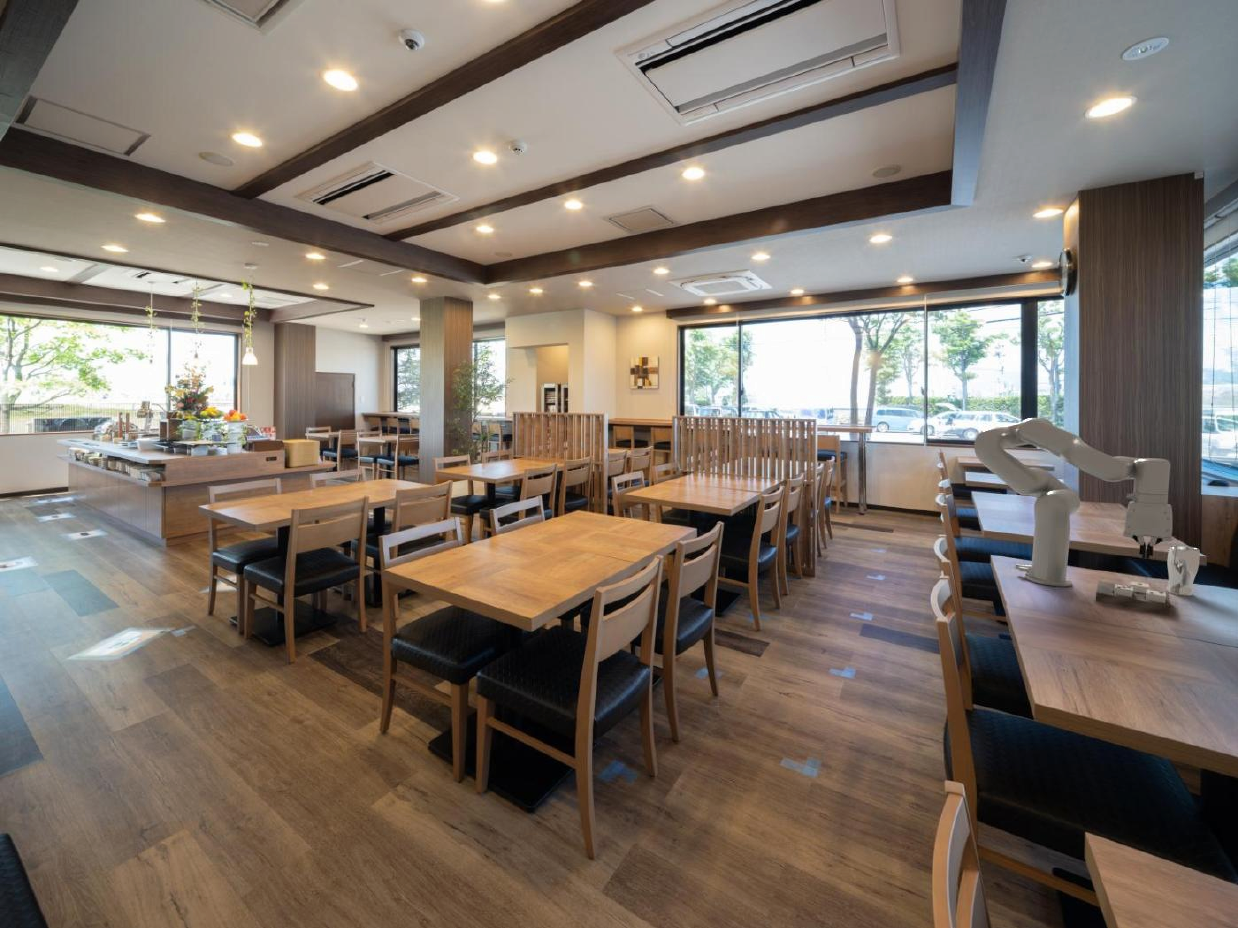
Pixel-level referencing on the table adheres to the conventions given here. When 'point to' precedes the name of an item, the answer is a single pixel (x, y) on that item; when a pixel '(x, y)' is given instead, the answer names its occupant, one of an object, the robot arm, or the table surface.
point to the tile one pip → (1139, 587)
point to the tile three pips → (1123, 590)
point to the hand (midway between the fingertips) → (1145, 557)
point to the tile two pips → (1156, 596)
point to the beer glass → (1182, 569)
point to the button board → (1130, 599)
